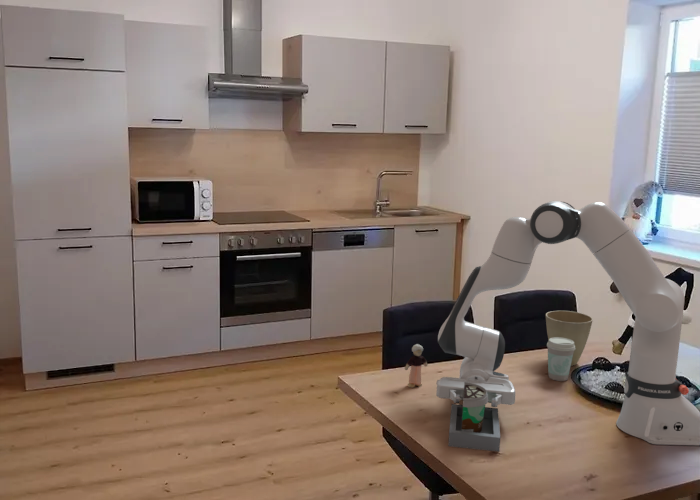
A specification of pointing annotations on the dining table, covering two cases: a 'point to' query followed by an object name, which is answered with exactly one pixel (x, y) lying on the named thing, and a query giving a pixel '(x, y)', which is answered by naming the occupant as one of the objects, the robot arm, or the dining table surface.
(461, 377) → the robot arm
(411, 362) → the grandmother figurine
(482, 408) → the food container
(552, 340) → the coffee cup
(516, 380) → the dining table surface
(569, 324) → the plant pot
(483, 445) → the tray
